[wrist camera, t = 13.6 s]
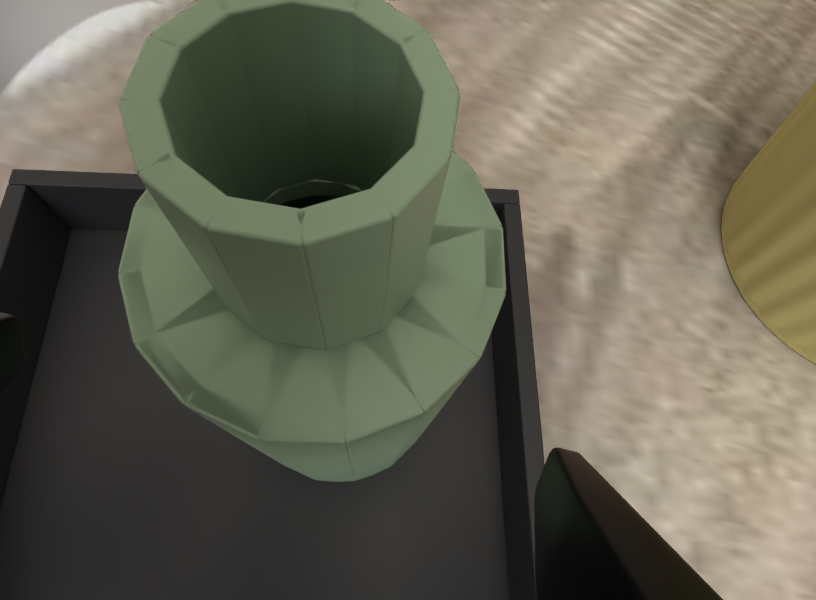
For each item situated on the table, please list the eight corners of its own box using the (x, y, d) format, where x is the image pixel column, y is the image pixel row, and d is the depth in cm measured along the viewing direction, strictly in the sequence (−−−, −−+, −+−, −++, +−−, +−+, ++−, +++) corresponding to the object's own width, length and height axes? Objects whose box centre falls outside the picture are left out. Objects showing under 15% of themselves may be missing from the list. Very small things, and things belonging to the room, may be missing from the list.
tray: (547, 925, 15) (600, 1044, 11) (-132, 970, 13) (-291, 1119, 10) (496, 235, 22) (518, 188, 19) (65, 221, 21) (11, 168, 18)
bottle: (456, 441, 19) (699, 259, 5) (282, 511, 17) (12, 510, 4) (392, 287, 21) (450, -136, 7) (232, 340, 19) (-63, -52, 6)
